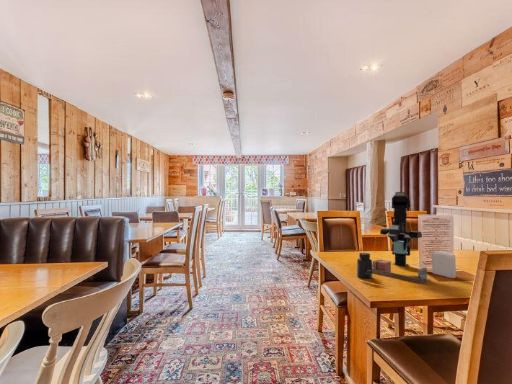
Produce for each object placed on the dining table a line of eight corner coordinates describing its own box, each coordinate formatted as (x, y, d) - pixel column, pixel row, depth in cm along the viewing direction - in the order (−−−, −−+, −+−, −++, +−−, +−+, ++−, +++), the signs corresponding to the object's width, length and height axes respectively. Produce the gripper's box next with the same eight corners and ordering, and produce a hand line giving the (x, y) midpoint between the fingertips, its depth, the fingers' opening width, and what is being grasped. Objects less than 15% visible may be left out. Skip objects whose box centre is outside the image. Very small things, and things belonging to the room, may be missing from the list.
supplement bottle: (370, 281, 132) (370, 255, 132) (355, 278, 135) (355, 253, 135) (373, 277, 137) (373, 252, 138) (358, 275, 141) (358, 251, 141)
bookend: (424, 278, 133) (424, 267, 133) (429, 280, 131) (429, 268, 131) (417, 281, 128) (417, 269, 128) (423, 283, 127) (423, 271, 127)
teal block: (399, 251, 149) (399, 240, 149) (406, 252, 146) (406, 241, 146) (393, 252, 145) (393, 241, 145) (401, 253, 142) (401, 242, 142)
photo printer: (430, 274, 143) (430, 249, 143) (435, 273, 145) (435, 249, 145) (452, 279, 134) (452, 253, 134) (457, 278, 136) (457, 252, 136)
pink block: (383, 270, 148) (383, 260, 148) (390, 272, 144) (390, 261, 145) (377, 272, 144) (377, 261, 144) (385, 274, 141) (385, 263, 141)
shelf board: (381, 270, 151) (381, 258, 151) (431, 280, 132) (431, 267, 132) (370, 273, 144) (370, 261, 144) (422, 285, 125) (422, 271, 125)
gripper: (374, 219, 148) (374, 249, 148) (412, 221, 133) (412, 254, 133) (385, 218, 155) (385, 246, 155) (422, 220, 140) (422, 252, 140)
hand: (400, 249), depth 145 cm, fingers closed on teal block, 4 cm apart
